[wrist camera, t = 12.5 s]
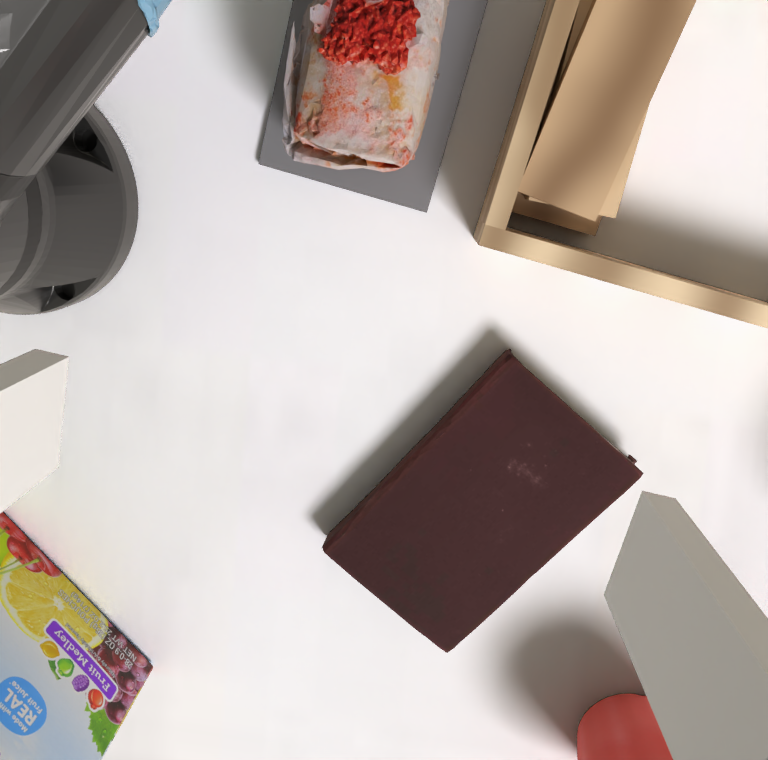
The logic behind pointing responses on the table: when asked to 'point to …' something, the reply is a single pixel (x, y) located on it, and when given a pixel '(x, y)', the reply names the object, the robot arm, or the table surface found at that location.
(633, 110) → the offcut stack
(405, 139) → the food item
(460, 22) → the mat
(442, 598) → the book
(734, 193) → the table surface
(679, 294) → the tray
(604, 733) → the flower pot
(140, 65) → the table surface
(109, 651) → the snack box
